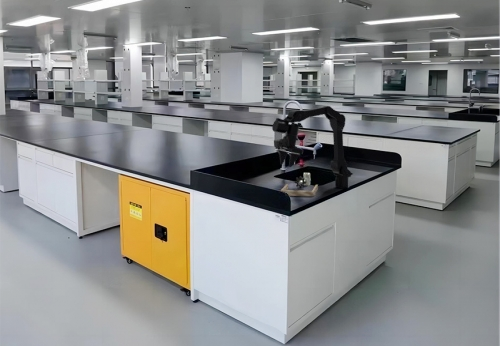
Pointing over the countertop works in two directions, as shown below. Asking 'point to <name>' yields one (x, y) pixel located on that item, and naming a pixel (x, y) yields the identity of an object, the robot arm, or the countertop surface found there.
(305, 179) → the valve
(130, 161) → the countertop surface
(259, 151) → the countertop surface
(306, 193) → the holding jig
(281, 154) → the robot arm
